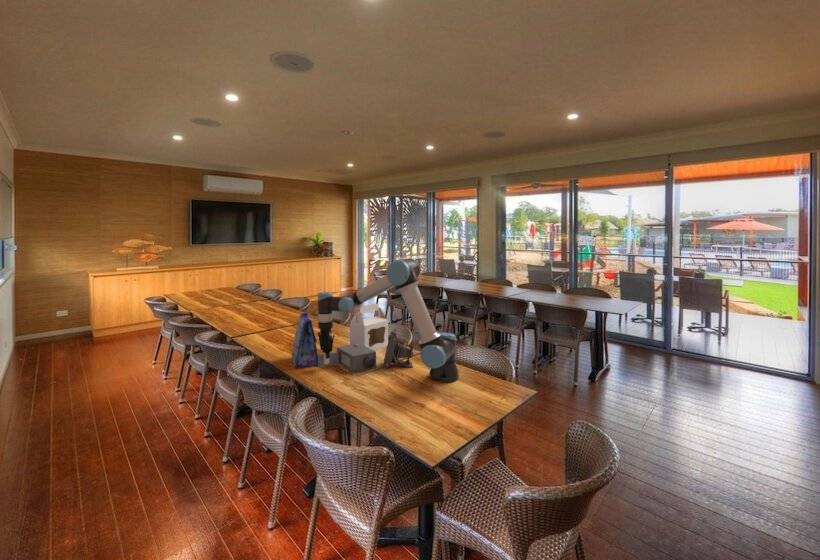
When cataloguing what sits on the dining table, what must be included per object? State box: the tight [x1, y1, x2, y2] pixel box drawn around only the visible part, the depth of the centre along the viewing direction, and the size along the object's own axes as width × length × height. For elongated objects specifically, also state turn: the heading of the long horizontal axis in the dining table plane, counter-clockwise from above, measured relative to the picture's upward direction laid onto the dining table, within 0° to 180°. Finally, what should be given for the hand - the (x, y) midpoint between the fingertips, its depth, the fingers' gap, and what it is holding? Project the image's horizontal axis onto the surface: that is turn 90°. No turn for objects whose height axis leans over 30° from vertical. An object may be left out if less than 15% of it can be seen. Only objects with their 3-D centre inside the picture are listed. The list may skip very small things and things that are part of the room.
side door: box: [317, 351, 341, 368], centre depth 213 cm, size 13×2×7 cm, turn 120°
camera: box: [383, 329, 415, 369], centre depth 216 cm, size 11×17×20 cm, turn 90°
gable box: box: [349, 303, 389, 351], centre depth 248 cm, size 22×13×28 cm, turn 141°
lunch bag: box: [291, 311, 319, 369], centre depth 220 cm, size 22×14×29 cm, turn 22°
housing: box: [336, 343, 377, 373], centre depth 215 cm, size 22×14×10 cm, turn 35°
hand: (326, 363), depth 209 cm, fingers closed
